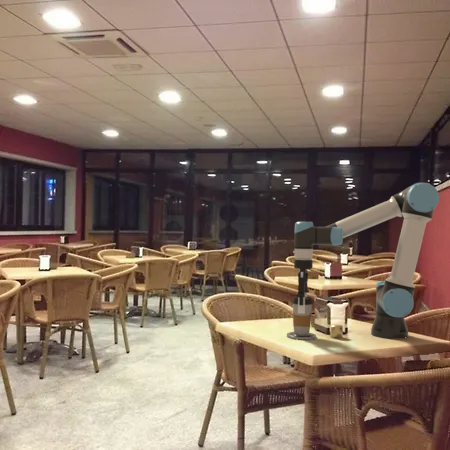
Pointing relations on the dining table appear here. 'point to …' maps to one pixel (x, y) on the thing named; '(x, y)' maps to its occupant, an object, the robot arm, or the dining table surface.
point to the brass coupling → (336, 331)
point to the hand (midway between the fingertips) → (302, 310)
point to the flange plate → (308, 337)
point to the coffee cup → (302, 317)
